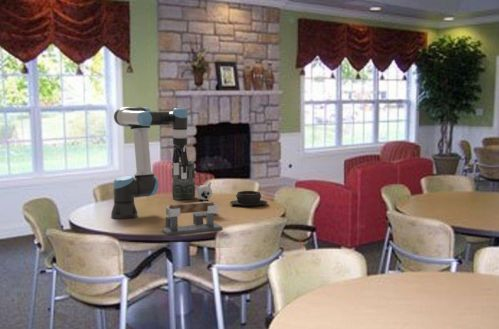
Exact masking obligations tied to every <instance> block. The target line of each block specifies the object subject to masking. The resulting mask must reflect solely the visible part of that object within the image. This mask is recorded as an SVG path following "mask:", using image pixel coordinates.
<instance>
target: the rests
mask: <svg viewBox="0 0 499 329" xmlns="http://www.w3.org/2000/svg"><path fill="white" fill-rule="evenodd" d="M192 218H193V219H192V220H193V225H200V224H204V216H203V215H201V214H193V217H192ZM164 219H165V220H164V221H165V228H170V217H169V216H165V218H164Z"/></svg>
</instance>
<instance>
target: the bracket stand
mask: <svg viewBox="0 0 499 329" xmlns="http://www.w3.org/2000/svg"><path fill="white" fill-rule="evenodd" d="M204 212H206V216H205V217H206V218H205V219H206V222H205V223H203V224H200V225H195V224H191V225H190V224H189V225H181V226H179V225H178V217H181V214H180V208H176V209H170V206H166V207H165V215H166V216H167V217H170V228H168V227H163V228H161V232H162V233H164V234H165V235H166V236H172V235H174V236H175V235H182V234H183V235H186V234H194V233H202V232H203V233H204V232H213V231H221V229H222V230H223V226H222V225H220V224H218V223H216V222H215V221H214V220H215V218H214V216H215V214H218V213H219V210H218V204H216V203H214V202H213V205H212V206H207V211H204ZM214 213H215V214H214Z"/></svg>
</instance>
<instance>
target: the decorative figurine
mask: <svg viewBox="0 0 499 329" xmlns="http://www.w3.org/2000/svg"><path fill="white" fill-rule="evenodd" d="M211 184H212V181H210V182H208V183H207V184H202V185H201V184H200V186H199V185H197V184H195V185H194V186H195V195H196V196H197V198H198V199H199V200H198V202H205V201H210V198H211V197H212V196H213V195H212V194H213V190H212V188H211ZM192 214H193V215H194V214H201V215H203V217H206V212H204V211H203V212H192ZM214 215H216V213H214Z"/></svg>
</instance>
